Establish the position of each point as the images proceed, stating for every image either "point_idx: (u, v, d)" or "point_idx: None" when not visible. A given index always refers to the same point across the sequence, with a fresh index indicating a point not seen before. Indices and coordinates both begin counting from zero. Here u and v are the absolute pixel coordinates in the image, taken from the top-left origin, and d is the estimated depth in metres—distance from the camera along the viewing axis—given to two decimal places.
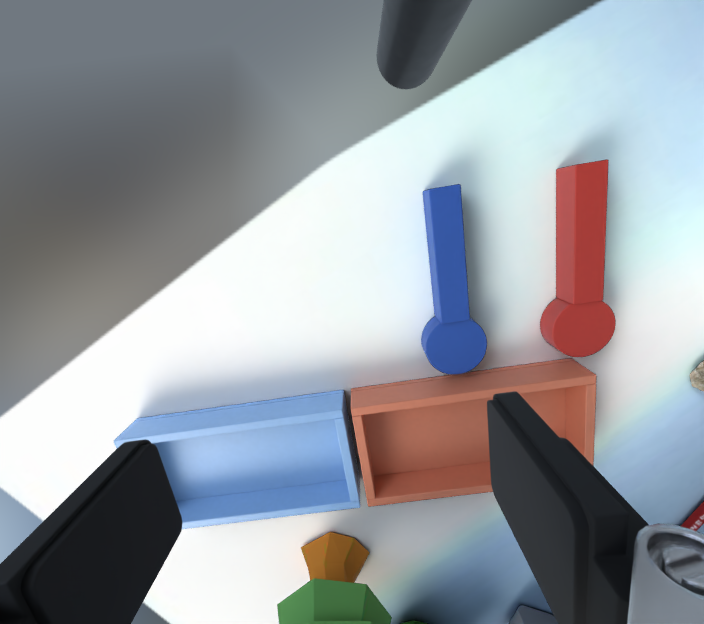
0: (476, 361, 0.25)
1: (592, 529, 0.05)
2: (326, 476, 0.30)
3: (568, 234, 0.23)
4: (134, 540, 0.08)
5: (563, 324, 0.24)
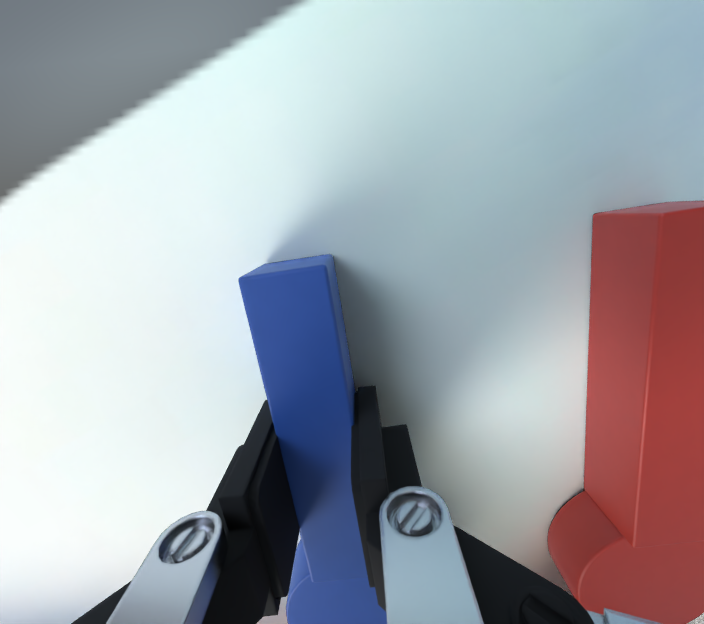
0: None
1: (363, 491, 0.07)
2: None
3: (625, 383, 0.09)
4: None
5: (604, 576, 0.10)
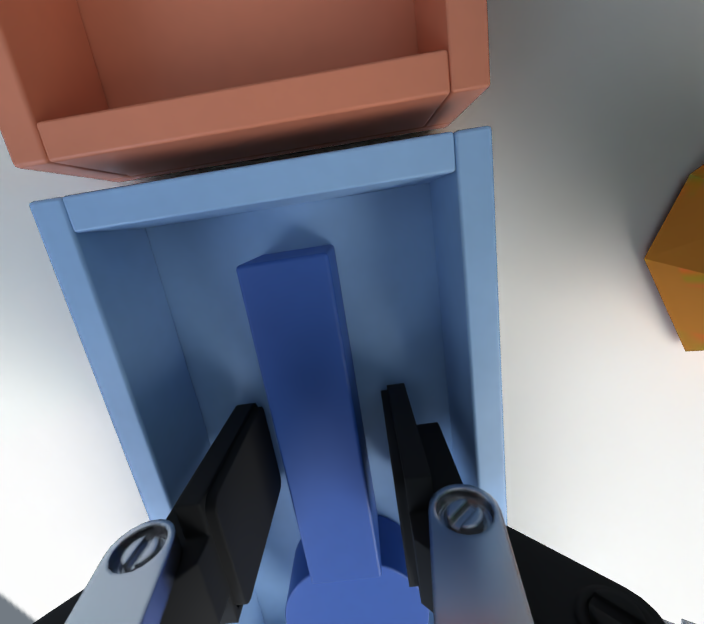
0: None
1: (407, 488, 0.07)
2: (416, 264, 0.09)
3: None
4: (258, 487, 0.09)
5: None
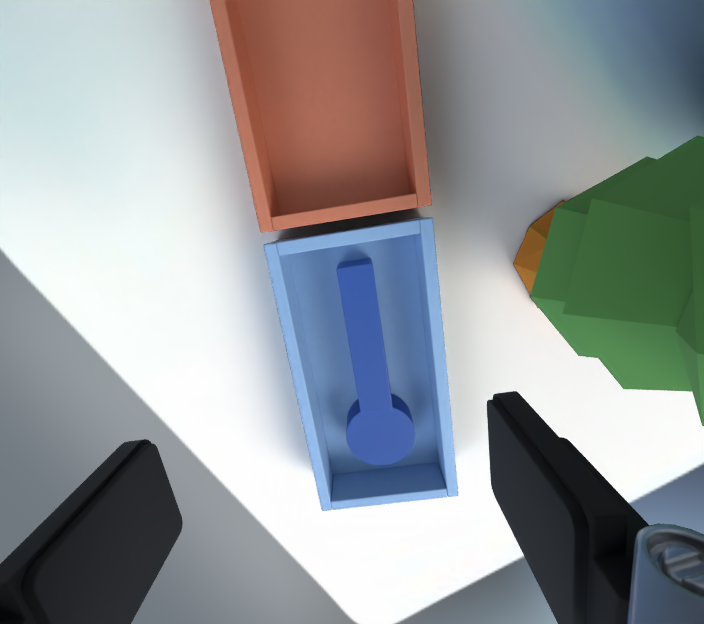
0: (404, 452, 0.22)
1: (592, 529, 0.05)
2: (408, 266, 0.21)
3: None
4: (134, 540, 0.08)
5: None
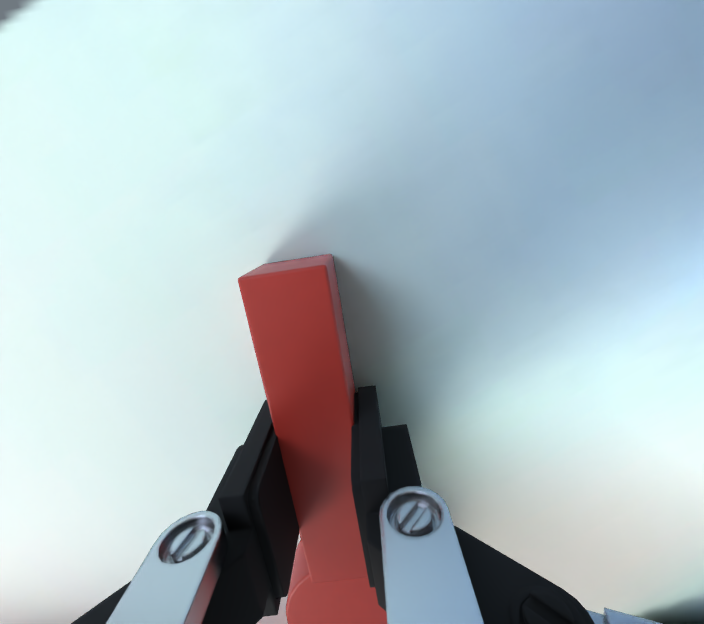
0: None
1: (363, 491, 0.07)
2: None
3: None
4: None
5: (307, 608, 0.11)
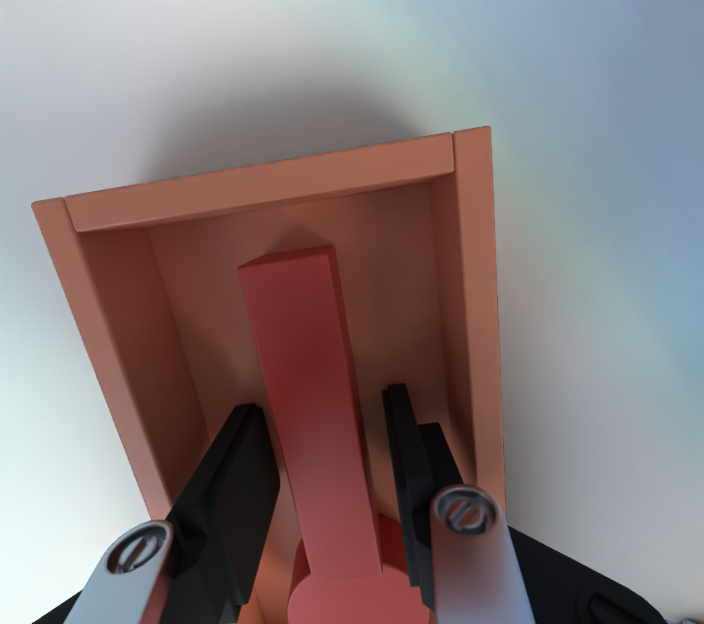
0: None
1: (408, 489, 0.07)
2: None
3: None
4: (258, 487, 0.09)
5: (308, 608, 0.11)
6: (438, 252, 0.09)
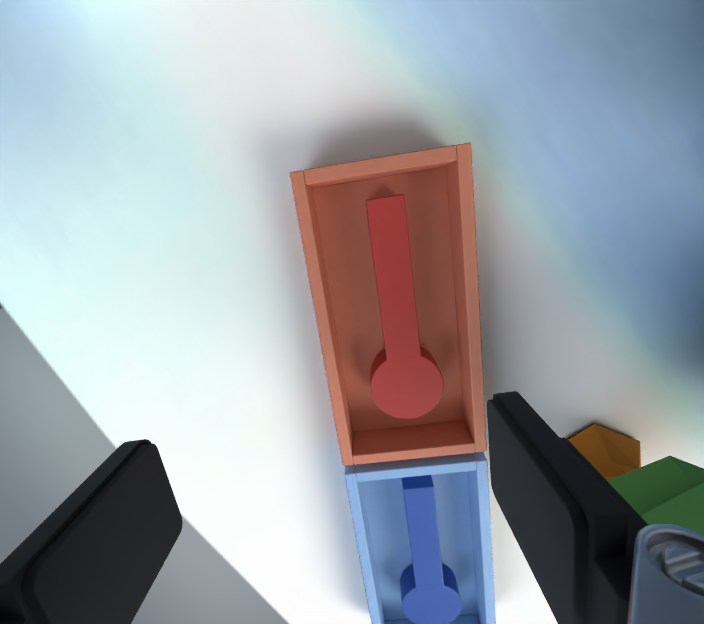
0: (451, 618, 0.26)
1: (592, 529, 0.05)
2: None
3: None
4: (134, 540, 0.08)
5: (382, 382, 0.21)
6: (450, 198, 0.19)
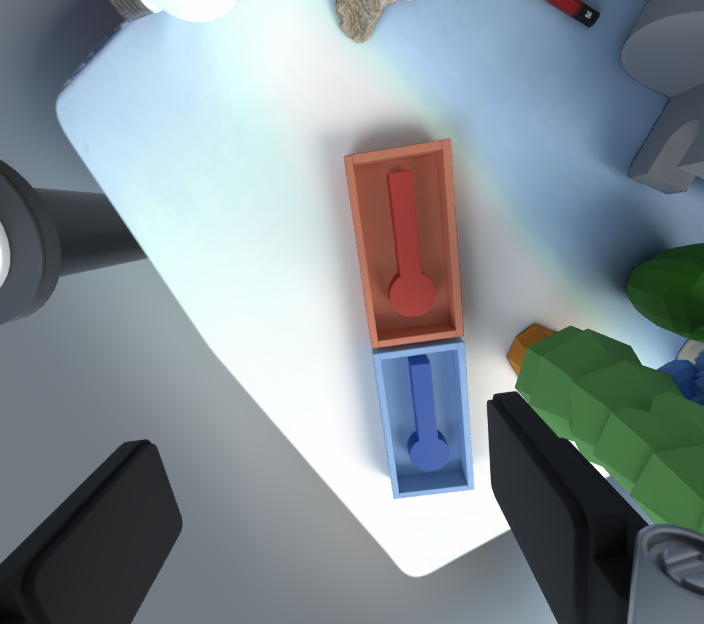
0: (443, 464, 0.38)
1: (592, 529, 0.05)
2: (447, 359, 0.37)
3: (393, 223, 0.31)
4: (134, 540, 0.08)
5: (397, 291, 0.33)
6: (438, 173, 0.31)
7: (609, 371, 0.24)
